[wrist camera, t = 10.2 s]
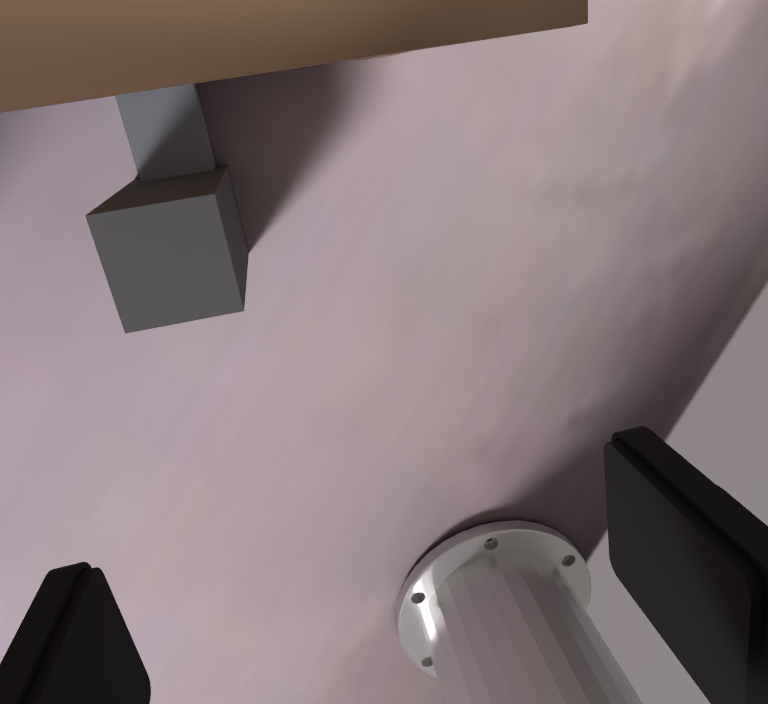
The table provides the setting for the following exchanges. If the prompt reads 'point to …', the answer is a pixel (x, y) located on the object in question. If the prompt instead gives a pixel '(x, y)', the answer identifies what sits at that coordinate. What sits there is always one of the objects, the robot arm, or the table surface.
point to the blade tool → (171, 219)
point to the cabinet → (230, 39)
